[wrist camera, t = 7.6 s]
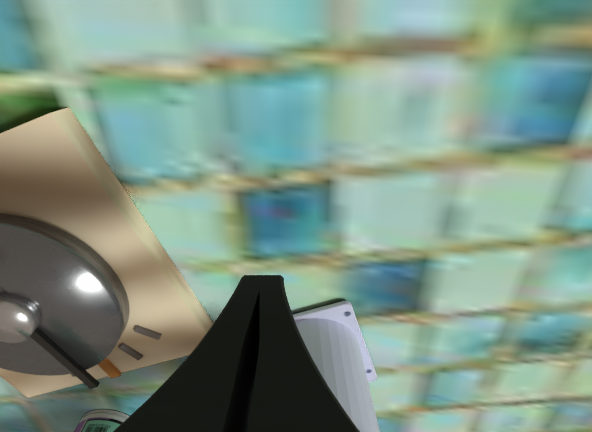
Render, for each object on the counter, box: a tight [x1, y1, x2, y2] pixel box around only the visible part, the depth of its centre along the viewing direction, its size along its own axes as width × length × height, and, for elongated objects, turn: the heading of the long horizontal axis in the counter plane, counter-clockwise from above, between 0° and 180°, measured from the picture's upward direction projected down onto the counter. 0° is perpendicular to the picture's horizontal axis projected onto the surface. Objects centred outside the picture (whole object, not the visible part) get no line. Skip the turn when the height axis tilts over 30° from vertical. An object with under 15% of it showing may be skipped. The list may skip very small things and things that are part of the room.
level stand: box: [0, 107, 214, 398], centre depth 21 cm, size 18×17×2 cm
